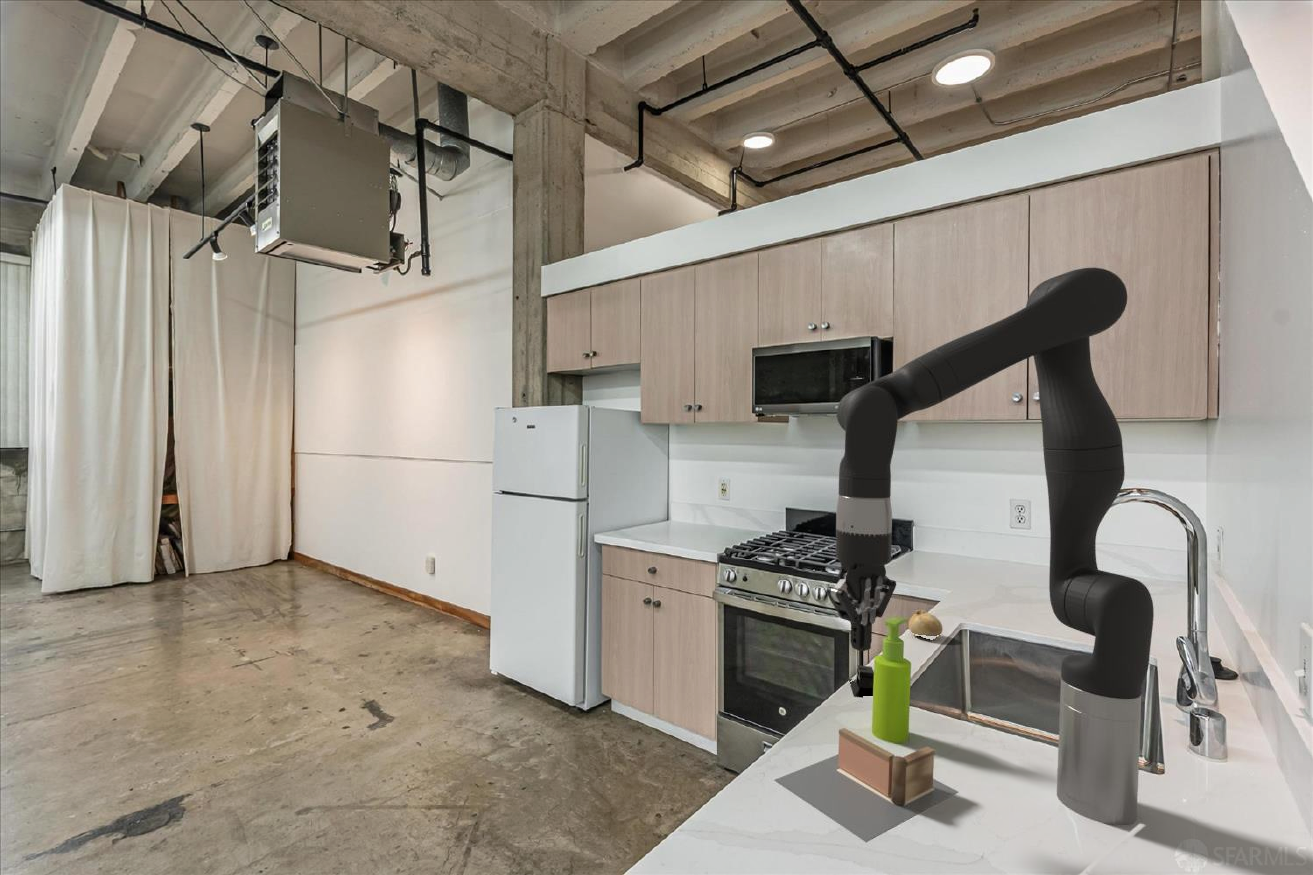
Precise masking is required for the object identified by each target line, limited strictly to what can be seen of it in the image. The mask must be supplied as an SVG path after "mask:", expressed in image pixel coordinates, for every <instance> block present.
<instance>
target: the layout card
mask: <svg viewBox="0 0 1313 875" xmlns="http://www.w3.org/2000/svg"><path fill="white" fill-rule="evenodd" d="M838 755H839V753H838V754H836V755H835V754H834V755H832V756H830V757H828V758H825V759H823V760H820V761H818V762H816V763H813V764H810V765H807V766H806V767H803V768H800V769H798V770H796V771H793V772H791V773H788V774H786V775H784V776H781V777H777V778H776V779H773V781H775V782H776V783H777V784H779V785H780V786H782V787H783V788H784V789H786V790H788V791H789V792H791V793H793V794H794V795H795V796H796V797H798V798H800V799H801V800H802V801H804V802H805V803H807V804H808V805H810V806H812V807H813V808H815V809H816V810H817V811H819V812H821V813H822V814H824V815H825V816H826V817H828V818H829V819H831V820H832V821H834V822H835V823H837V824H839V825H840V826H841V827H842V828H844V829H845V830H847V831H849V832H850V833H852V834H853V835H855V836H856V837H858V838H859V839H860V840H862V841H864V842H865V843H867V842H869V841H871V840H872V839H875V838H876V837H878V836H880V835H882V834H883V833H885V832H887V831H889V830H891V829H893V828H894V827H896V826H898V825H900V824H902V823H905V822H906V821H908V820H909V819H911V818H913V817H914V816H917V815H918V814H920V813H922V812H924V811H926V810H928V809H929V808H931V807H934V806H935V805H937V804H939V803H940V802H941V803H942V802H943V801H944V800H946V799H949V797H952V796H954V795H956V794H957V793H959V791H958V790H956V789H954V788H952V787H950V786H948V785H946V784H945V783H943V782H940V781H938V780H936V779H935V778H933V788H931V789H929V790H927V791H925V792H923V793H921V794H919V795H917V796H915V797H913V798H911V799H910V800H908V801H906V802H905V805H904V806H897V805H894V804H893V803H892V802H891V795H890V796H886V795H885V794H883V793H882V792H880V791H878V790H877V789H875V788H873V787H872V786H870V785H868V784H867V783H865V782H863V781H862V780H860V779H859V778H857V777H855V776H854V775H852V774H850V773H849V772H847V771H845V770H844V769H842V768H841V767H839V766H838Z"/></svg>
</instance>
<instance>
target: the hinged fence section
mask: <svg viewBox="0 0 1313 875" xmlns="http://www.w3.org/2000/svg"><path fill="white" fill-rule="evenodd" d="M838 734H839V735H838V754H839V755H838V754H837V755H838V766H839V767H841V768H842V769H844V770H845V771H847V772H849V773H850V774H852V775H854V776H855V777H857V778H859V779H860V780H862V781H863V782H865V783H867V784H868V785H870V786H872V787H873V788H875V789H877V790H878V791H880V792H882V793H883V794H885V795H886V796H890V795H891V790H892V762H893V757H894V756H895V754H894V753H892V752H890V751H888V750H887V749H884V748H883V747H880V746H879V745H877V744H875V743H873V742H871V741H869V740H867V739H866V738H864V737H862V736H860V735H858V734H856V733H855V732H852V731H851V730H849V729H847V728H845V727H843V728H840V729H838Z"/></svg>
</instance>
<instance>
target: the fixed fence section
mask: <svg viewBox="0 0 1313 875" xmlns="http://www.w3.org/2000/svg"><path fill="white" fill-rule="evenodd" d="M935 754H936V749H934V748H932V747H929V746H925V747H922V748H920V749H918V750H916V751H914V752H911V753H909V754H906V755H905V756H899V755H894V757H893V762H892V790H891V802H892V803H893V804H894V805H897V806H904V805H905V802H906V801H908V800H910V799H911V798H913V797H915V796H917V795H919V794H921V793H923V792H925V791H927V790H929V789H931V788H933V779H934V765H935V764H934V763H935V762H934V761H935V760H934V759H935Z"/></svg>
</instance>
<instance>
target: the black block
mask: <svg viewBox="0 0 1313 875" xmlns="http://www.w3.org/2000/svg"><path fill="white" fill-rule="evenodd" d="M852 679H853V678H848V682H850V681H851V680H852ZM854 679H855V680H854V681H852V682H850V683H849V686H850V689H851V691H852V695H853V697H854V698H862V699H864V698H863V696H873V685H874V668H873V666H869V665H858V664H857V666H856V678H854ZM850 684H851V685H850Z"/></svg>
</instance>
